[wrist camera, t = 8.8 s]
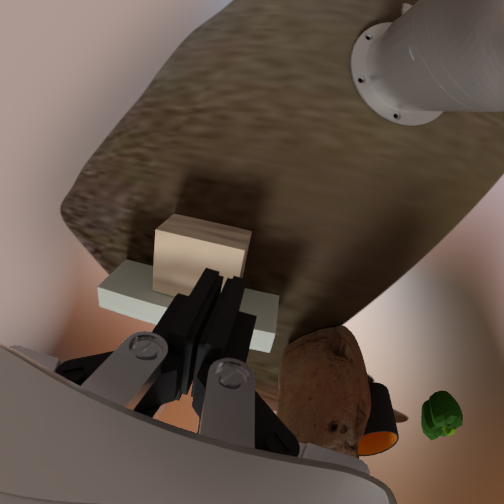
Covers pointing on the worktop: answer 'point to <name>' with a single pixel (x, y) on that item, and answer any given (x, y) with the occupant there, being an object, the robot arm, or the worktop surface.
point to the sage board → (155, 303)
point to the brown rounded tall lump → (325, 390)
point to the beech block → (196, 253)
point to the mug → (379, 423)
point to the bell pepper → (441, 415)
